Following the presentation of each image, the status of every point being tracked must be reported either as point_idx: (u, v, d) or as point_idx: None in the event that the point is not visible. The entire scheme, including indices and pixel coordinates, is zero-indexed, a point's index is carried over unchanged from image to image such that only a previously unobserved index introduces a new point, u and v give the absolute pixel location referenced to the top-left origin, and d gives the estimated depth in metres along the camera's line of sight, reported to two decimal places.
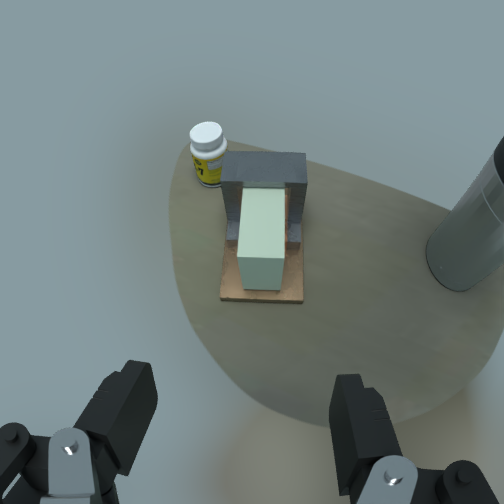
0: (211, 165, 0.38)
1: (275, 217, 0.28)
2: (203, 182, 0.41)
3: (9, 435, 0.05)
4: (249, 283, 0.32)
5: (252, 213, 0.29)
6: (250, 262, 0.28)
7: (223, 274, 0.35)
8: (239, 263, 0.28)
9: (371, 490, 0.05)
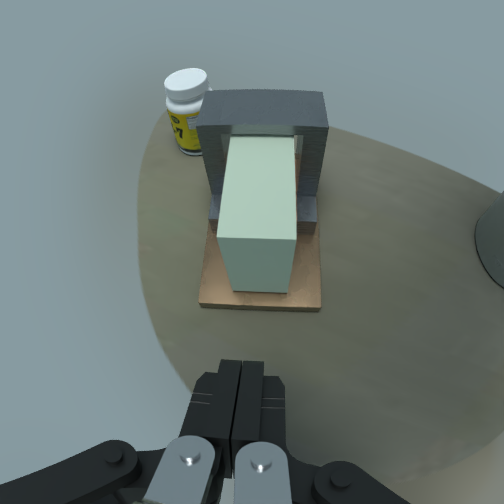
0: (192, 123, 0.27)
1: (280, 176, 0.17)
2: (184, 149, 0.31)
3: (112, 456, 0.06)
4: (240, 281, 0.21)
5: (243, 170, 0.18)
6: (239, 247, 0.17)
7: (204, 269, 0.24)
8: (222, 249, 0.17)
9: (243, 482, 0.05)
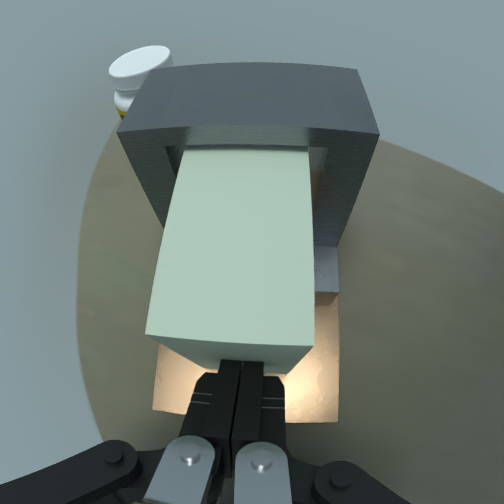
0: None
1: (281, 198, 0.09)
2: None
3: (111, 456, 0.06)
4: (212, 365, 0.12)
5: (209, 184, 0.09)
6: (195, 346, 0.08)
7: (161, 358, 0.15)
8: (165, 344, 0.08)
9: (243, 482, 0.05)
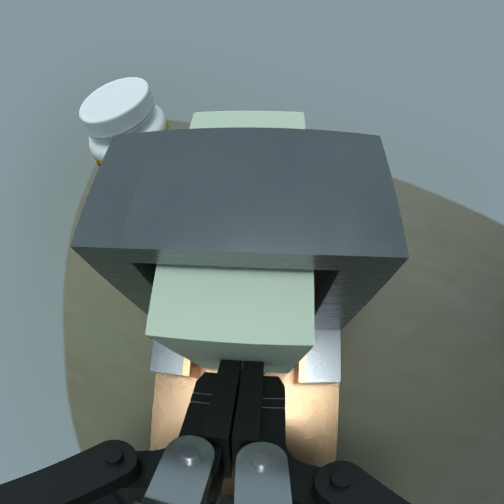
0: None
1: None
2: None
3: (112, 456, 0.06)
4: (213, 365, 0.12)
5: None
6: (195, 346, 0.08)
7: (154, 436, 0.13)
8: (165, 345, 0.08)
9: (243, 481, 0.05)
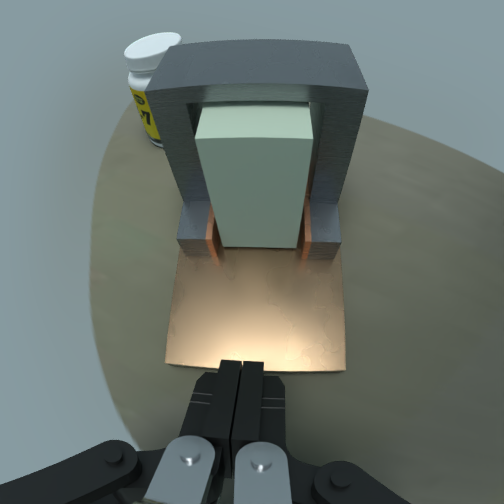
0: None
1: None
2: (154, 139, 0.22)
3: (112, 456, 0.06)
4: (232, 229, 0.16)
5: None
6: (228, 158, 0.11)
7: (173, 312, 0.16)
8: (204, 164, 0.11)
9: (243, 482, 0.05)
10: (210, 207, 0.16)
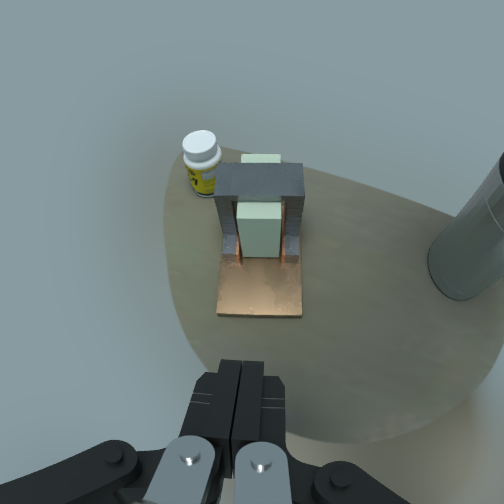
0: (205, 176, 0.37)
1: None
2: (198, 192, 0.40)
3: (112, 456, 0.06)
4: (248, 249, 0.34)
5: None
6: (248, 224, 0.29)
7: (219, 289, 0.34)
8: (238, 226, 0.29)
9: (243, 481, 0.05)
10: (237, 238, 0.34)
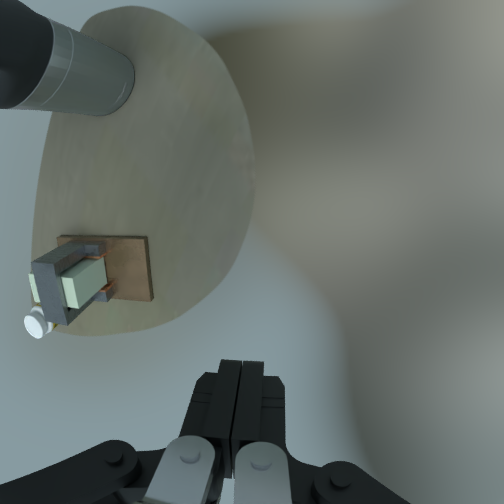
0: None
1: None
2: None
3: (111, 456, 0.06)
4: (100, 283, 0.39)
5: None
6: (81, 297, 0.34)
7: (133, 299, 0.42)
8: (84, 302, 0.35)
9: (243, 482, 0.05)
10: None
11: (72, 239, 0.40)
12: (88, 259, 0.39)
